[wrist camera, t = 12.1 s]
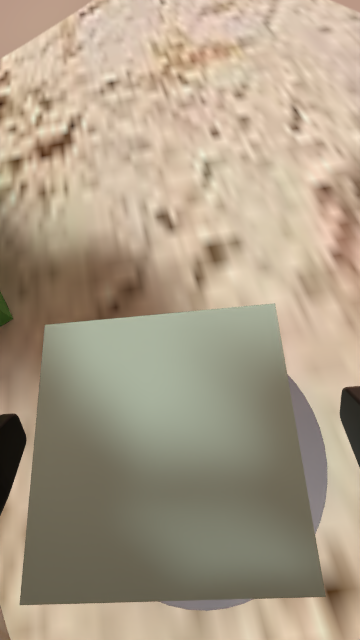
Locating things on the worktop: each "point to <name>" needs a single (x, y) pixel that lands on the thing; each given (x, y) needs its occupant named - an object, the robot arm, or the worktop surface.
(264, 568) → the block
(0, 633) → the packaged product
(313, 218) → the worktop surface
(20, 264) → the worktop surface
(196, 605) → the charcoal pad
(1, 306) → the hardback book
